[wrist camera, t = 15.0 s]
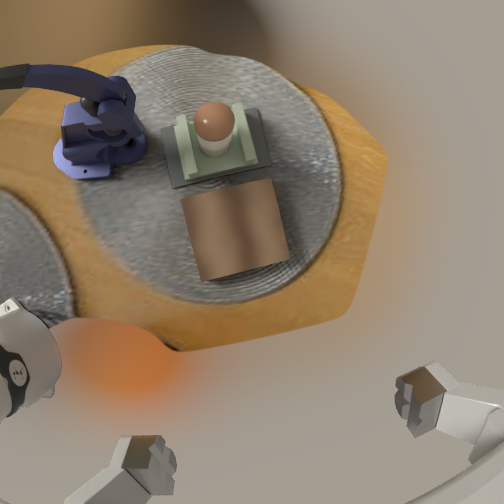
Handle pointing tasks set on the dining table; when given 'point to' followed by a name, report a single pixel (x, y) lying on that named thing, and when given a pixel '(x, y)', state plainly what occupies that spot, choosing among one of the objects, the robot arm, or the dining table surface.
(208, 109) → the mushroom
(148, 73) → the dining table surface
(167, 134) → the mat
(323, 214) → the dining table surface
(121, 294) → the dining table surface
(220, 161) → the rack
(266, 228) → the board
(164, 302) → the dining table surface
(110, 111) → the hand press
